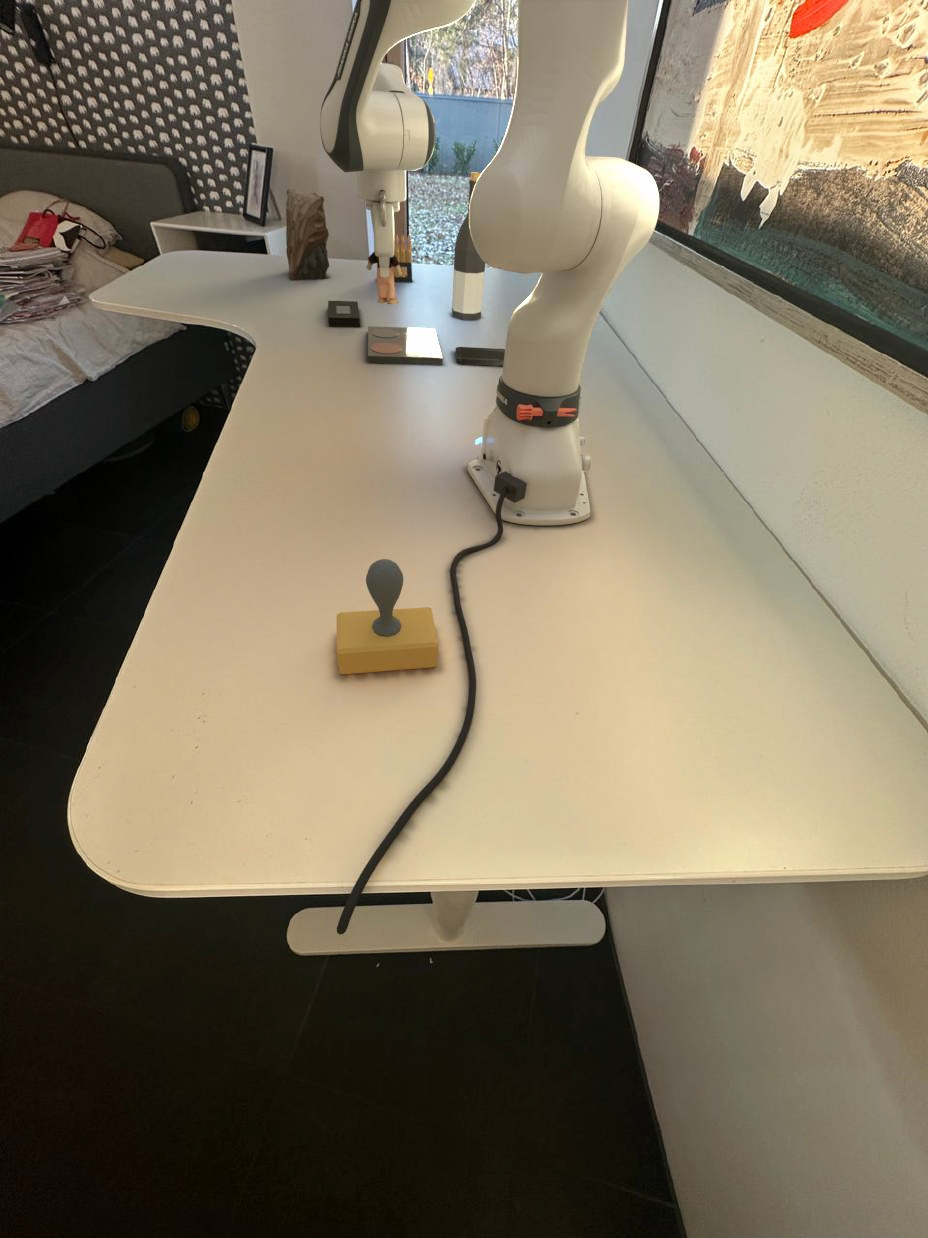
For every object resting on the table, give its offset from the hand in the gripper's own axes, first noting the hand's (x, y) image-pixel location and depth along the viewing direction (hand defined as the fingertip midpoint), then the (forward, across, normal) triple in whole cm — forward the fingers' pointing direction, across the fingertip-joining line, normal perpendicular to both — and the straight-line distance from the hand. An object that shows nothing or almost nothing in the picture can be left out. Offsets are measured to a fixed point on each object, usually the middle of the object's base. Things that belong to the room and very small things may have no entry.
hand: (384, 273), depth 110 cm
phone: (+16, -1, -23) cm, 28 cm away
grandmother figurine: (+5, 0, 0) cm, 5 cm away
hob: (+16, +5, -4) cm, 17 cm away
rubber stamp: (+16, -89, +2) cm, 90 cm away
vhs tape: (+16, +26, +10) cm, 32 cm away
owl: (+16, +66, +23) cm, 72 cm away
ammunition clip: (+16, +65, -4) cm, 67 cm away
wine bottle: (+16, +32, -22) cm, 42 cm away
